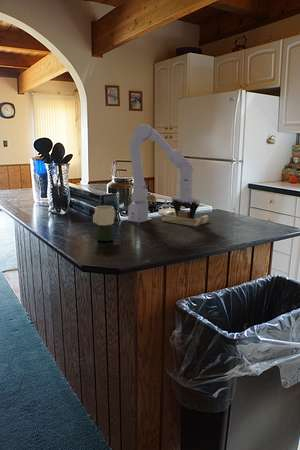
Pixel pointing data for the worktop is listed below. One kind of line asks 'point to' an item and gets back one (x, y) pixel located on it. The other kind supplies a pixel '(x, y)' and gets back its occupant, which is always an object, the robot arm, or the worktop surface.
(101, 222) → the character mug
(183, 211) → the walnut block
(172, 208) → the ceramic plate
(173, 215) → the wooden u-shaped frame
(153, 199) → the lion figurine
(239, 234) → the worktop surface
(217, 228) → the worktop surface
